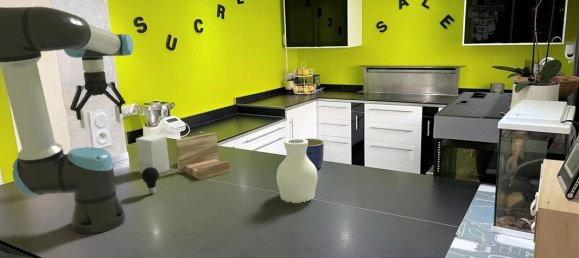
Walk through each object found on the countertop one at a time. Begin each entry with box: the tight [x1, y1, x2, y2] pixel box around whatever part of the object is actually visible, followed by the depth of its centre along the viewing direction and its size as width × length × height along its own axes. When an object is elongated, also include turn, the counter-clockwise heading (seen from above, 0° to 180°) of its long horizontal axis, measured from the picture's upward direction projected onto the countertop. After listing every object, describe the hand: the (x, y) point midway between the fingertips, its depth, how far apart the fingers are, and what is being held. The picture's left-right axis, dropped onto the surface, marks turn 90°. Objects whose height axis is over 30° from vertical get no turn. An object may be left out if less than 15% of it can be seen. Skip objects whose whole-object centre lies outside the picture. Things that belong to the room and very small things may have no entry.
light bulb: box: [141, 167, 160, 195], centre depth 155 cm, size 6×6×10 cm
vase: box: [275, 137, 318, 204], centre depth 147 cm, size 14×14×20 cm
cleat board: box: [175, 132, 231, 180], centre depth 179 cm, size 15×18×14 cm
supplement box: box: [135, 134, 170, 175], centre depth 181 cm, size 9×9×15 cm
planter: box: [305, 138, 325, 170], centre depth 181 cm, size 12×12×11 cm
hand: (101, 125), depth 170 cm, fingers open, 13 cm apart
